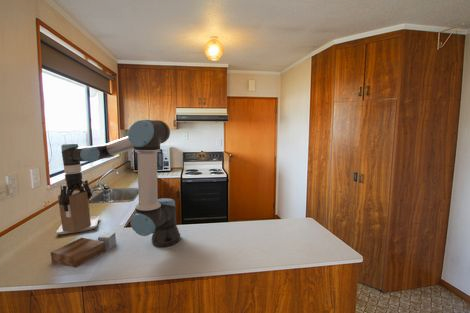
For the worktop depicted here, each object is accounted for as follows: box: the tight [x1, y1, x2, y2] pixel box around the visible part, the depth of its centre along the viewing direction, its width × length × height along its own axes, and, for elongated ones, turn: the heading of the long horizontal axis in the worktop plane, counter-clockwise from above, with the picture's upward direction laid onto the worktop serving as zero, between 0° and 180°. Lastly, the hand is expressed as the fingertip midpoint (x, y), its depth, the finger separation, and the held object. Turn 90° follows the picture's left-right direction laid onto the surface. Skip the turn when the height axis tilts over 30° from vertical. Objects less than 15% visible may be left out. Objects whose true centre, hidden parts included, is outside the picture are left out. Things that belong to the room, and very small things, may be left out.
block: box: [57, 190, 91, 234], centre depth 137 cm, size 10×10×20 cm
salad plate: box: [55, 215, 101, 235], centre depth 160 cm, size 21×21×3 cm
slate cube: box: [97, 231, 117, 249], centre depth 134 cm, size 6×6×6 cm
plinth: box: [50, 237, 107, 269], centre depth 123 cm, size 16×16×5 cm
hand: (78, 213), depth 136 cm, fingers closed on block, 10 cm apart
